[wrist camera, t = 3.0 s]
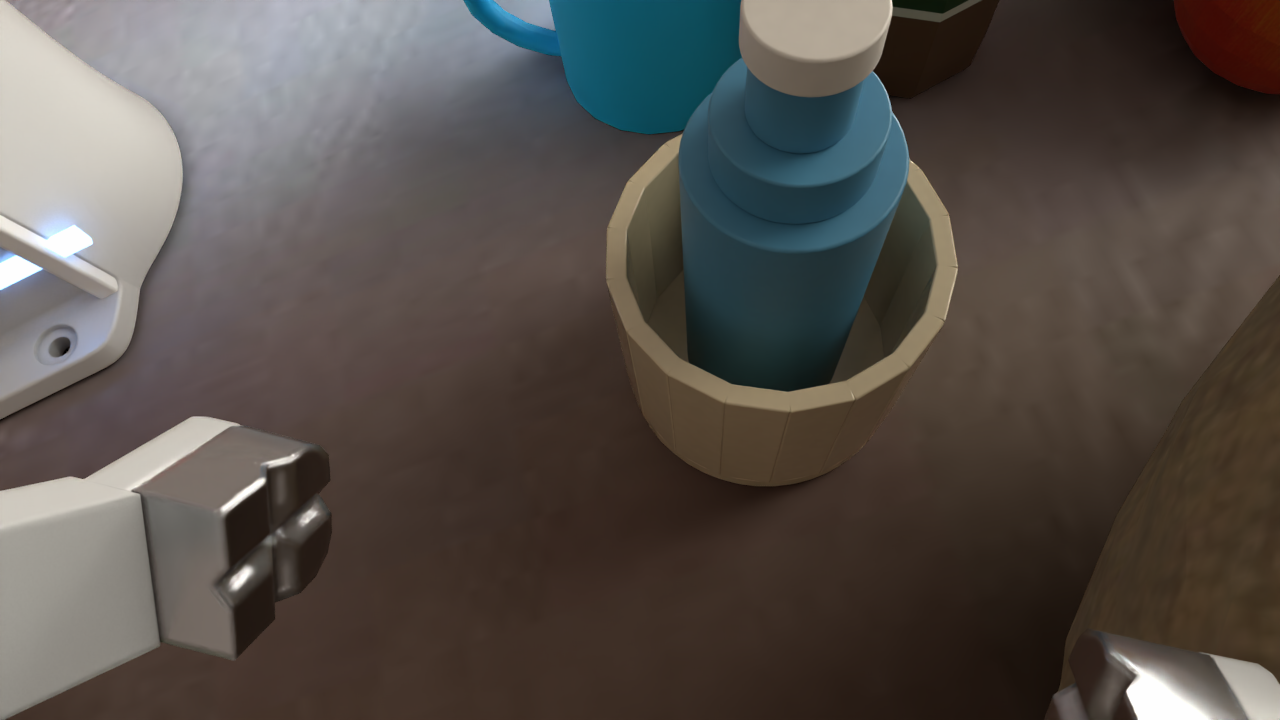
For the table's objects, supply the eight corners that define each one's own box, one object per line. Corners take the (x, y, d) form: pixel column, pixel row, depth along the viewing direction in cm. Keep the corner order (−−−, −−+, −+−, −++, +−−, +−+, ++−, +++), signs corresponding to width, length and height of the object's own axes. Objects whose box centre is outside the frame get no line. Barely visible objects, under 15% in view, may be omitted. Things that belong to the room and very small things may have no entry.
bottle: (758, 450, 29) (815, 172, 14) (657, 344, 30) (613, 0, 16) (869, 354, 30) (1029, 4, 15) (764, 257, 32) (817, -139, 17)
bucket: (755, 546, 28) (773, 487, 21) (575, 347, 32) (536, 236, 24) (953, 369, 30) (1034, 258, 23) (764, 199, 34) (781, 55, 26)
